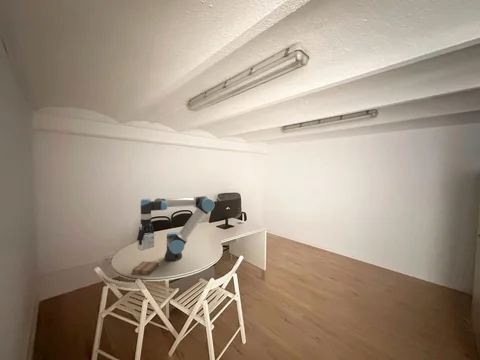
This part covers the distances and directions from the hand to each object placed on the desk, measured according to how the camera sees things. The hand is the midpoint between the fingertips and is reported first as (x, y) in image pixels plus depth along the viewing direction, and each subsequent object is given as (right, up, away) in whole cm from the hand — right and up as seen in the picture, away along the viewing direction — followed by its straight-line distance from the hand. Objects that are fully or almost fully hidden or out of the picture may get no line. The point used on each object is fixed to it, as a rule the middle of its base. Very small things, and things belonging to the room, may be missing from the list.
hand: (146, 245), depth 156 cm
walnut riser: (0, -19, +1) cm, 19 cm away
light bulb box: (0, -2, 0) cm, 2 cm away
